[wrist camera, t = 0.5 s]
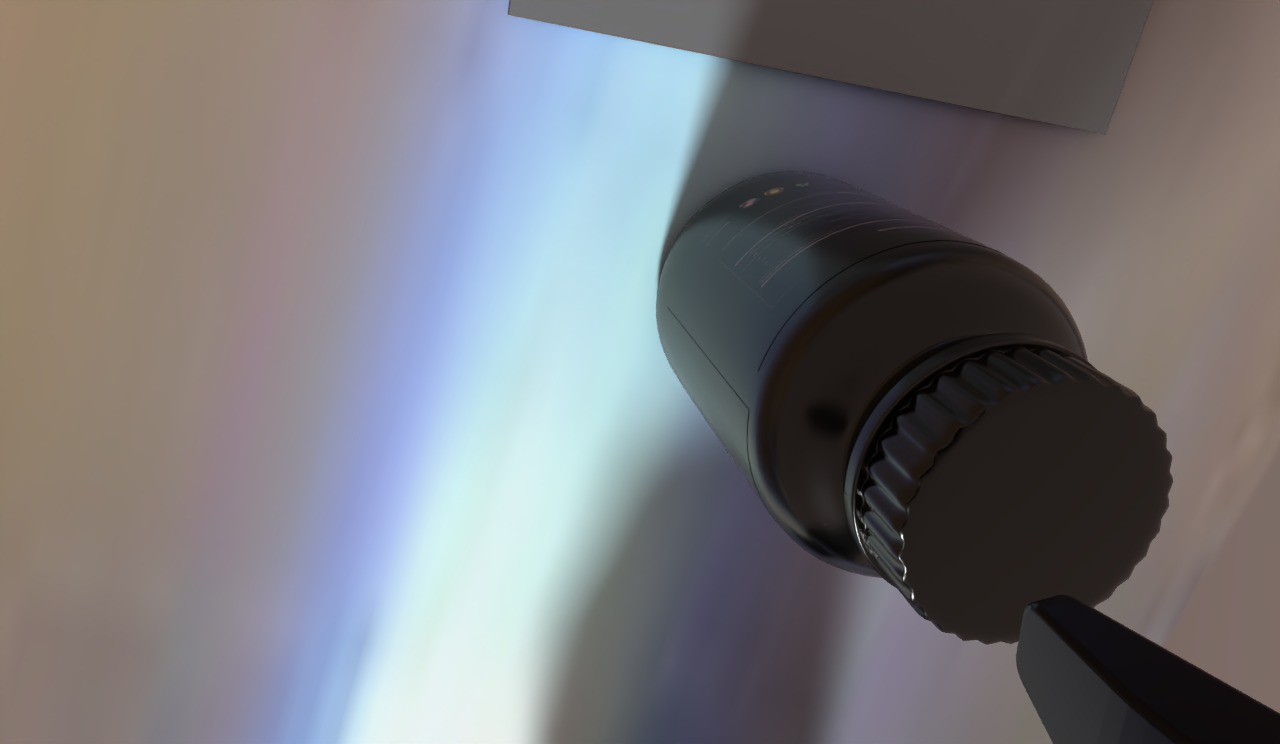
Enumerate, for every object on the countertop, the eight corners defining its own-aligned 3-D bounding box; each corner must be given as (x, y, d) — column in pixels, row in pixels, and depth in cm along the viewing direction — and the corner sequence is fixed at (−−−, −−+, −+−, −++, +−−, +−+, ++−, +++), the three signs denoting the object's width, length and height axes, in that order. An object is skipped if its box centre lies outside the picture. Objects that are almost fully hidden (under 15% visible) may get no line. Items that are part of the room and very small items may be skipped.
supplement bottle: (912, 356, 27) (1239, 611, 16) (689, 443, 27) (877, 763, 16) (866, 124, 24) (1229, 249, 14) (615, 216, 24) (784, 423, 13)
